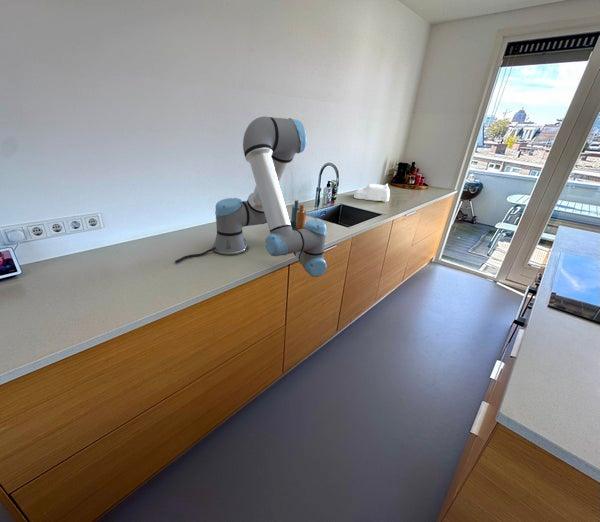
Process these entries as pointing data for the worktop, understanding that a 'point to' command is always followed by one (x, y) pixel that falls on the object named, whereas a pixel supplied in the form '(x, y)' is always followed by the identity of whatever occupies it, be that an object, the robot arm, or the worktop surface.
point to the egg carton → (373, 193)
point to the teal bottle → (294, 214)
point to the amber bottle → (300, 218)
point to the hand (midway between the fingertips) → (288, 233)
